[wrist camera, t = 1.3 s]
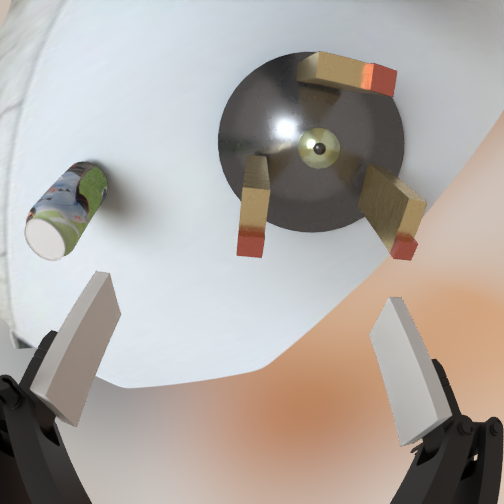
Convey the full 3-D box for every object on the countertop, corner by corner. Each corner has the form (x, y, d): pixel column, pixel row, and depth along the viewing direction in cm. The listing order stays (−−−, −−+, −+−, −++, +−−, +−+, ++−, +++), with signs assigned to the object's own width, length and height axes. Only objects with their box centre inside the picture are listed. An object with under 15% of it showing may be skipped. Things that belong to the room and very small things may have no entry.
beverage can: (85, 148, 27) (18, 187, 17) (127, 186, 29) (73, 240, 19) (64, 185, 29) (5, 232, 19) (103, 220, 32) (54, 278, 22)
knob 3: (368, 162, 25) (414, 203, 17) (383, 166, 25) (432, 207, 17) (357, 205, 28) (393, 258, 20) (372, 207, 28) (410, 260, 20)
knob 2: (295, 80, 21) (318, 77, 13) (298, 62, 20) (322, 49, 12) (346, 91, 21) (393, 97, 13) (349, 73, 20) (397, 71, 12)
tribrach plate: (228, 43, 21) (225, 38, 19) (409, 81, 22) (422, 82, 19) (216, 215, 31) (212, 227, 29) (372, 232, 32) (380, 244, 30)
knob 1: (247, 154, 25) (241, 192, 17) (266, 156, 25) (270, 194, 17) (242, 200, 28) (236, 255, 20) (260, 202, 28) (261, 257, 20)
